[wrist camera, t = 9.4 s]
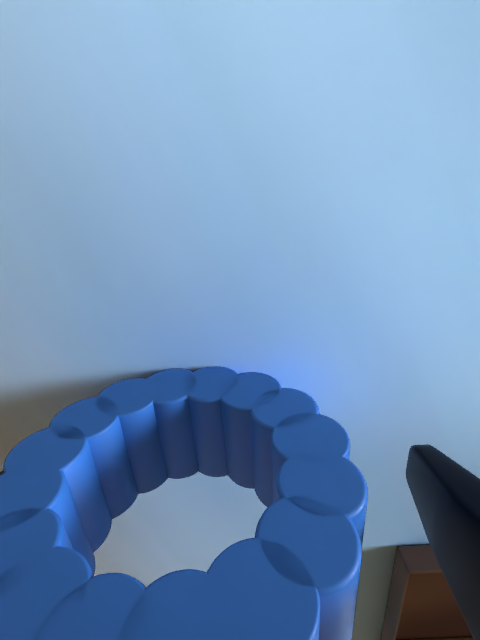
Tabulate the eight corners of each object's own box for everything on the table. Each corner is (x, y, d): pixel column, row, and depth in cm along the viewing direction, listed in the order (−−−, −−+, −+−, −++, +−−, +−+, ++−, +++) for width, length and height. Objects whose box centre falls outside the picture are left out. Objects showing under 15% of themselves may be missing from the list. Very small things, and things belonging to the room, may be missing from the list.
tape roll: (345, 447, 10) (388, 912, 4) (120, 426, 12) (-109, 745, 6) (350, 372, 9) (422, 840, 3) (103, 359, 11) (-204, 655, 4)
